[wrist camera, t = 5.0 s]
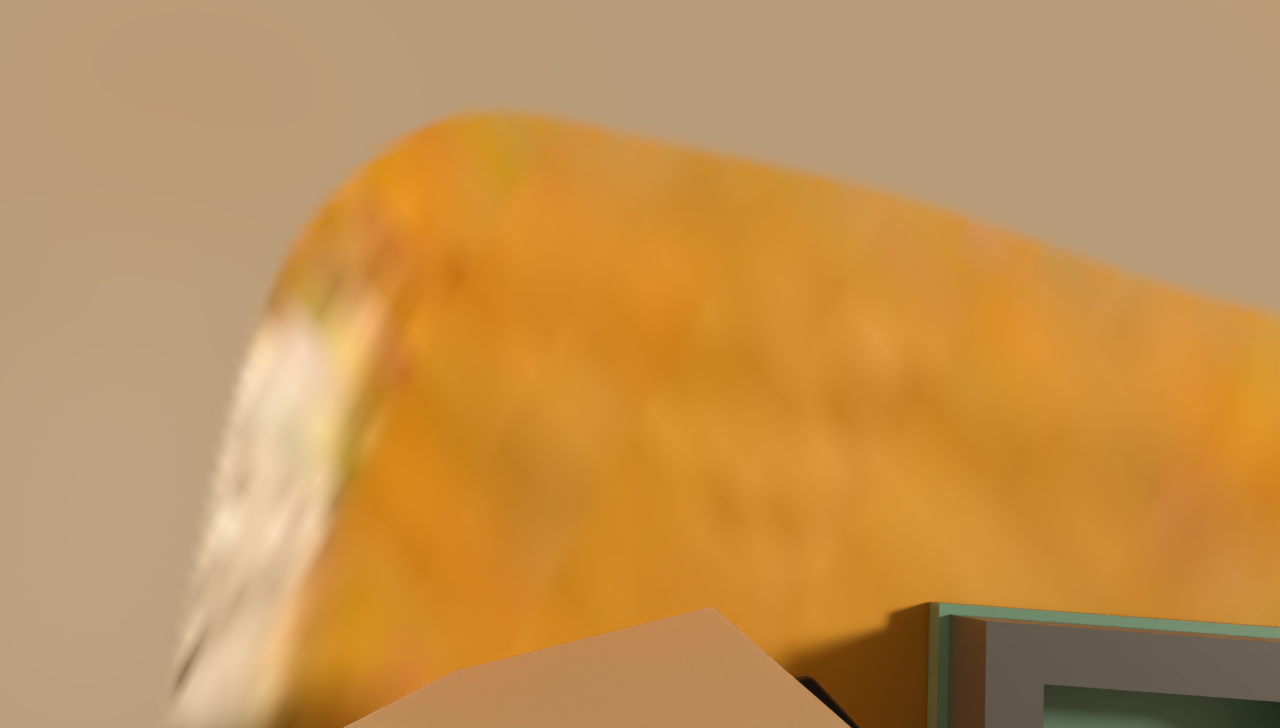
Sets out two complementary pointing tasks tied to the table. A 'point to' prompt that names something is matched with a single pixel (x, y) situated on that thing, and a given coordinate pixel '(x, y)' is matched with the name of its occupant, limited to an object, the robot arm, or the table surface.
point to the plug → (621, 685)
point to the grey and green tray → (1097, 671)
